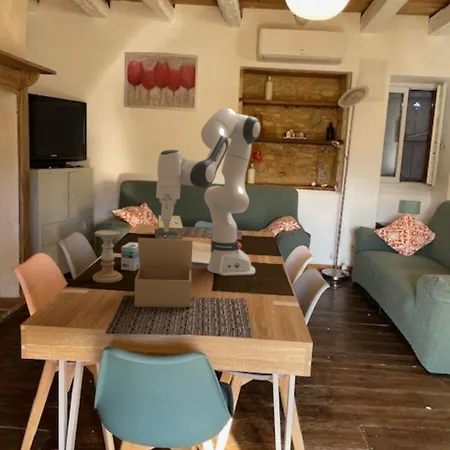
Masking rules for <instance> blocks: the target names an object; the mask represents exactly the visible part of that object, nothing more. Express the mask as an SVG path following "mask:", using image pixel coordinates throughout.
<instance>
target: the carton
mask: <svg viewBox="0 0 450 450" xmlns="http://www.w3.org/2000/svg"><path fill="white" fill-rule="evenodd" d="M136 273H137V274H136V276H135V278H134V307H141V308H142V307H146V308H147V307H149V308H152V307H153V308H186V307H190V308H191V302H192V301H191V299H192V298H191V297H192V268H191V269H164V268H138V271H137V272H136Z"/></svg>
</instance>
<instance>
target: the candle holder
mask: <svg viewBox="0 0 450 450" xmlns="http://www.w3.org/2000/svg"><path fill="white" fill-rule="evenodd" d="M121 234H122V233H121V231H119V230H116V229H115V230H113V229H103V230H102V229H100V230H96V231H95V232H94V236H96V237H99V238H101V240H102V242H103V243H102V245H101V248H102V252H101V256H100V258H101V262H100V263H99V264H100V265H101V270H99V271H98V272H96V273H94V274H93V275H92V280H93V281H94V282H96V283H101V284H111V283H118V282H120V281H122V279H123V274H122V273H120V272H118V271H117V270H114V266H115V264H116V263H115V261H114V260H115V254H114V250H113V248H114V247H115V245H114V244H113V240H114V239H115V238H116V237H119V236H121Z"/></svg>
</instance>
